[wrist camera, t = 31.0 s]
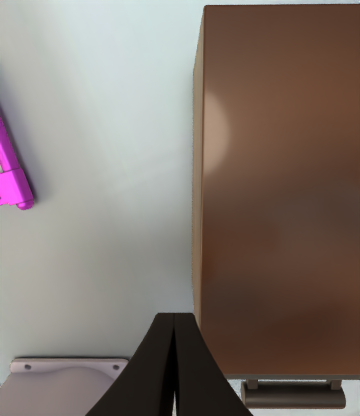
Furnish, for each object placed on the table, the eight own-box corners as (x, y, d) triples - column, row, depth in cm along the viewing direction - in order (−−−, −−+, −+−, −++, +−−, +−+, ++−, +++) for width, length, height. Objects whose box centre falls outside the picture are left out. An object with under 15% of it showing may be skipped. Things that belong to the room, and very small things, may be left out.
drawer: (342, 356, 21) (417, 457, 14) (199, 356, 21) (207, 456, 14) (384, 108, 16) (520, 86, 10) (203, 109, 16) (217, 88, 10)
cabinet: (355, 278, 20) (477, 376, 12) (191, 278, 20) (198, 375, 12) (390, 69, 17) (597, 0, 8) (193, 71, 17) (203, 3, 8)
